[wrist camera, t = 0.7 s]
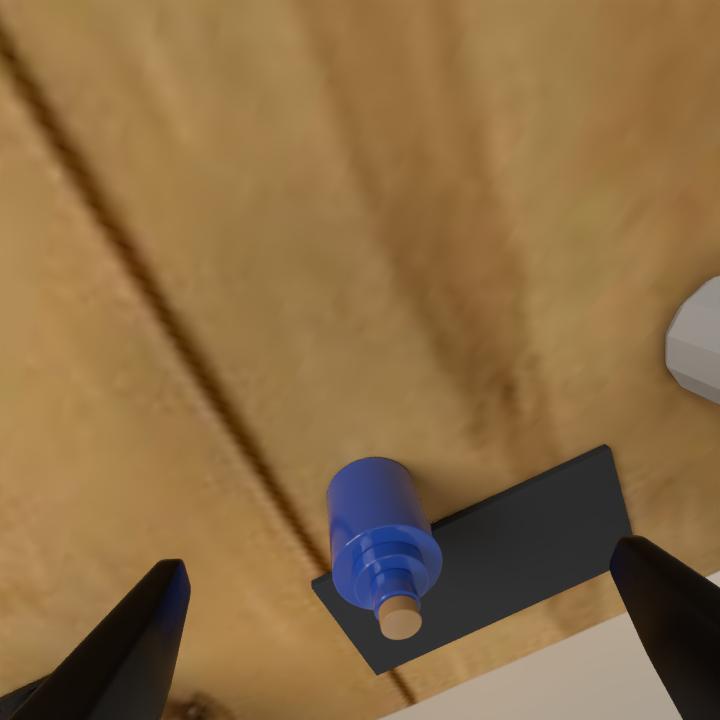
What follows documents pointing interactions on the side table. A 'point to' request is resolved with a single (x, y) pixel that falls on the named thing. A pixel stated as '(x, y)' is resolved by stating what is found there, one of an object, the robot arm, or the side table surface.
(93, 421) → the side table surface
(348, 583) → the flask
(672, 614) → the robot arm
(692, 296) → the water bottle
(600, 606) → the side table surface
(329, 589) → the mat
